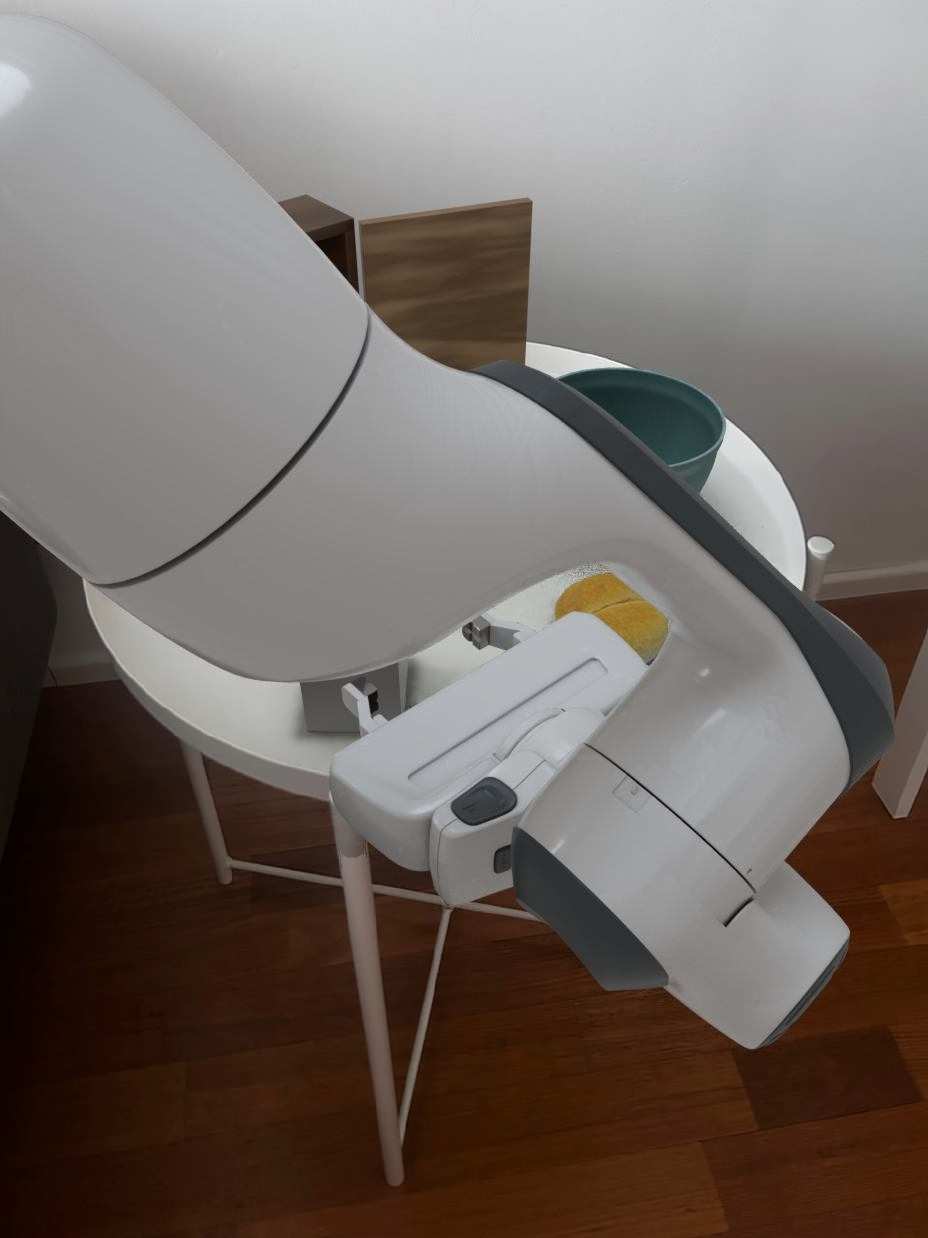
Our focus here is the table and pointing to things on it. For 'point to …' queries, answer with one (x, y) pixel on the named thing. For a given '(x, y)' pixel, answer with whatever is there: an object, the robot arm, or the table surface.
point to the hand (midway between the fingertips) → (413, 653)
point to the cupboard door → (452, 280)
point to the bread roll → (617, 612)
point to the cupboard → (327, 232)
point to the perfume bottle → (330, 710)
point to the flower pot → (659, 415)
